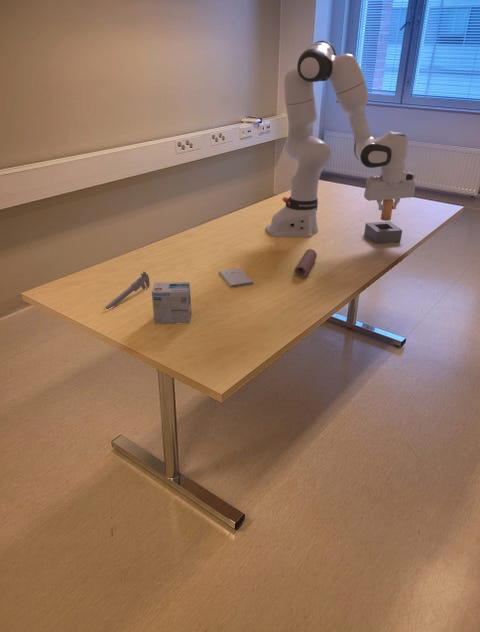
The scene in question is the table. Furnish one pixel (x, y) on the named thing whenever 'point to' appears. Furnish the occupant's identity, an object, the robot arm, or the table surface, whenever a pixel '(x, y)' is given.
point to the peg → (387, 209)
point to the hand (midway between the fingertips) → (387, 209)
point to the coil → (305, 263)
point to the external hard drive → (235, 277)
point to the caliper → (131, 289)
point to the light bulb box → (171, 302)
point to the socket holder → (383, 232)
